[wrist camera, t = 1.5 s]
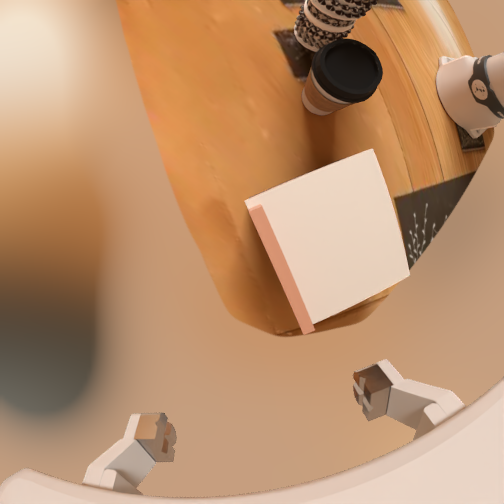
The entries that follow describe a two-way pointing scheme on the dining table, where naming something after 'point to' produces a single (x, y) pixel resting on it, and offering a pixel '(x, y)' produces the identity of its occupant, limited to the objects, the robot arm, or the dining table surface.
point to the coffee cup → (341, 76)
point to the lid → (331, 237)
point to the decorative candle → (328, 20)
